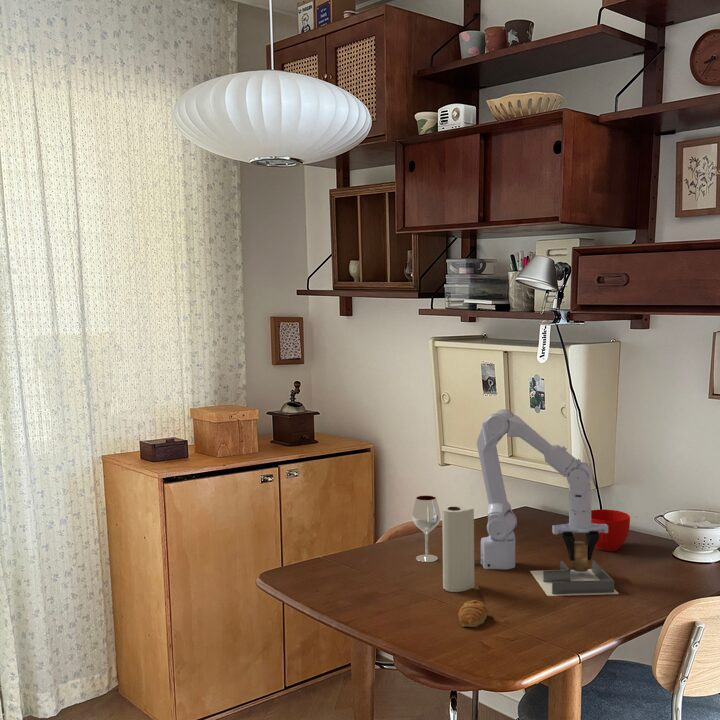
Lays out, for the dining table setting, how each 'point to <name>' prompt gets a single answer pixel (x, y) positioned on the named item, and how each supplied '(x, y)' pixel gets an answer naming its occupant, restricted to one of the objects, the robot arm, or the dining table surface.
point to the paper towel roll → (458, 548)
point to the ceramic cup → (611, 528)
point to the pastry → (472, 613)
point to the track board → (574, 576)
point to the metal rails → (565, 586)
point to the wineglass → (426, 521)
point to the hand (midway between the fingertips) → (579, 559)
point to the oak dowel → (580, 556)
